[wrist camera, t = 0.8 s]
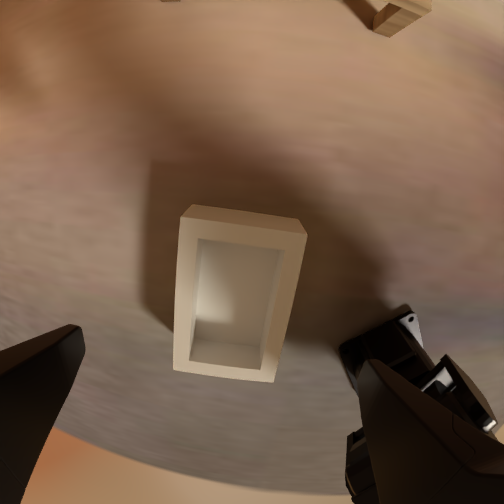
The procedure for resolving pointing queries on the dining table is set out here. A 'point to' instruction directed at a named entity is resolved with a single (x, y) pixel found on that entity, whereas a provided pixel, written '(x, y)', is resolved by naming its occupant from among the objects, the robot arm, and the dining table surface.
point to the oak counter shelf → (395, 15)
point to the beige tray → (234, 291)
